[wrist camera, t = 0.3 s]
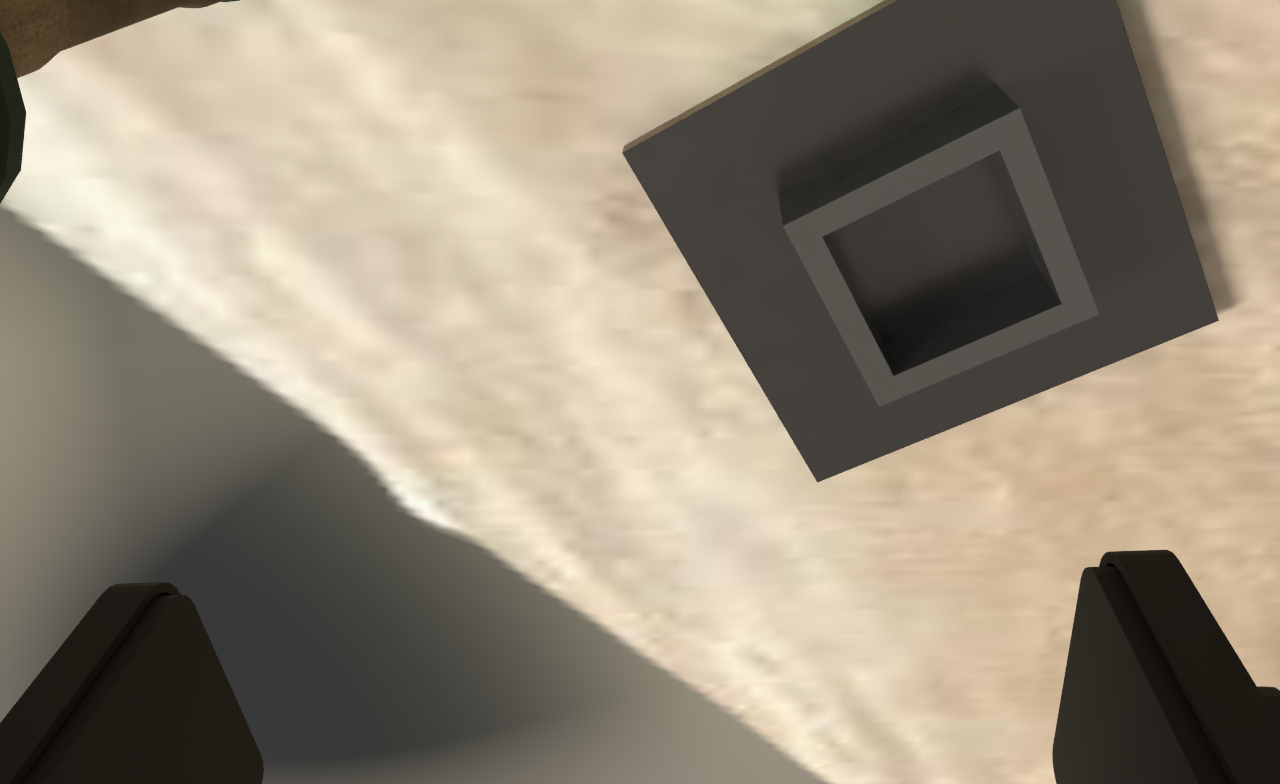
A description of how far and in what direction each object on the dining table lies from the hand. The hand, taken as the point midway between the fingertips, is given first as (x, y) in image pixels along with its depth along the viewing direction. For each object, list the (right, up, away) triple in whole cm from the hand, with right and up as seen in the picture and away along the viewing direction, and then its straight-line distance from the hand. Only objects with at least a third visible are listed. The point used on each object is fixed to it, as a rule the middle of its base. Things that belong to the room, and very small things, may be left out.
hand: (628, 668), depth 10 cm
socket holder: (+13, +10, +34) cm, 38 cm away
